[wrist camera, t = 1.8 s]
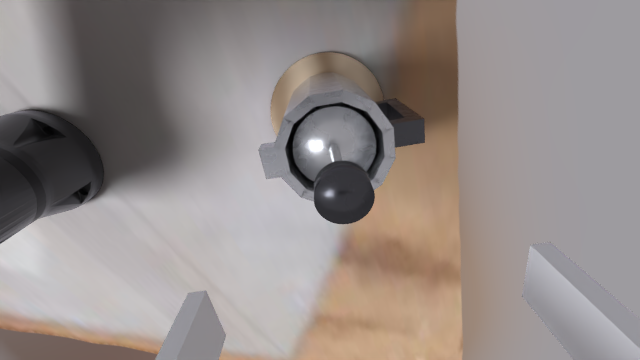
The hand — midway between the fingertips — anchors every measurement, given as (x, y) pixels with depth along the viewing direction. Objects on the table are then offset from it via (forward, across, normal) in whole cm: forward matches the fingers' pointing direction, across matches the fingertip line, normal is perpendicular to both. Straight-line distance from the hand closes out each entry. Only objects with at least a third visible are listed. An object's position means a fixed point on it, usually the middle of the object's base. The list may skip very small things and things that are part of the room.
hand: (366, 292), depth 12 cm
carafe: (+33, 0, 0) cm, 33 cm away
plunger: (+19, 0, 0) cm, 19 cm away
